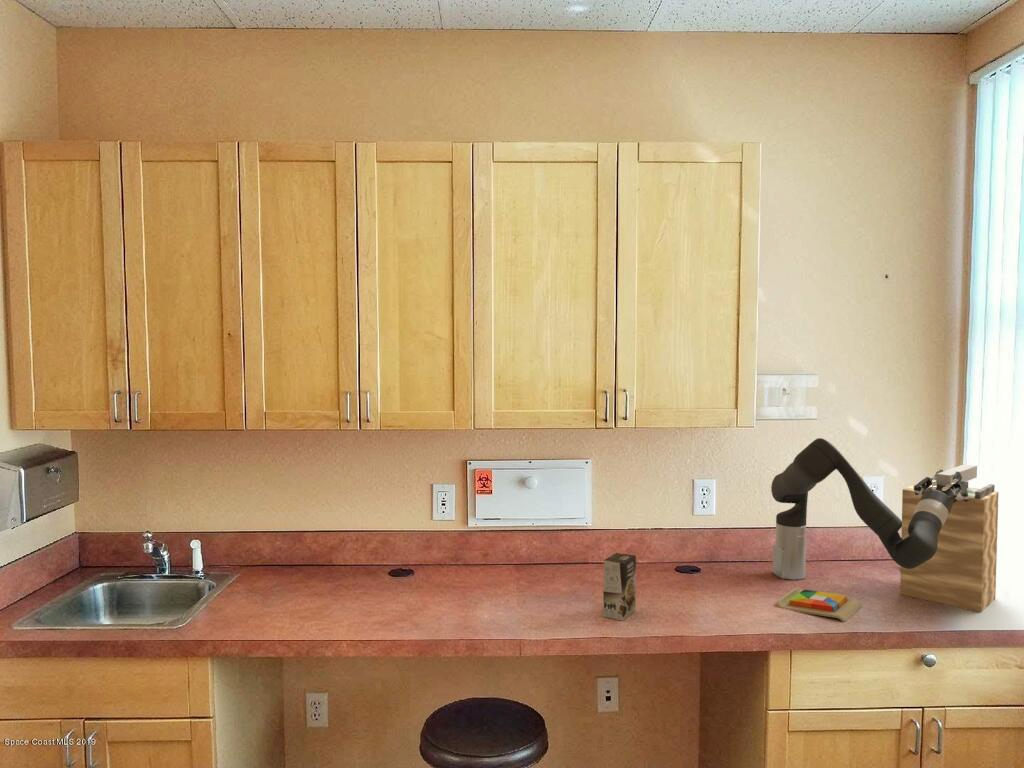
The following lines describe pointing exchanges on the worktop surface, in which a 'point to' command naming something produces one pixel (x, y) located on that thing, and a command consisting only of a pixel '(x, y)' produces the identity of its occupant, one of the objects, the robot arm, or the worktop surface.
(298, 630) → the worktop surface
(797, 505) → the robot arm
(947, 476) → the light gray bar
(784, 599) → the wooden puzzle
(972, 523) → the maple block
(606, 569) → the coffee box
